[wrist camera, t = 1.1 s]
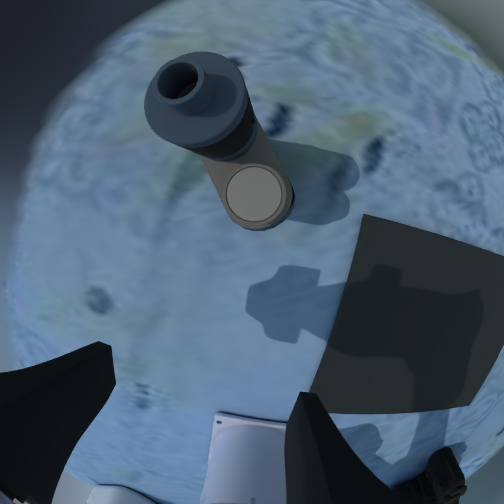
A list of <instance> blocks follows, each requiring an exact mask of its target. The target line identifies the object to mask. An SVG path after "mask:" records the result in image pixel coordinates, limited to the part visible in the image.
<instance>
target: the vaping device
mask: <svg viewBox="0 0 504 504" xmlns="http://www.w3.org/2000/svg"><path fill="white" fill-rule="evenodd" d="M248 97H249V95H248V91H247V88H246V85H245V82H244V79H243V76H242V74H241V72H240V70H239V69H238V68H237V66H236V65H235V64H234V63H233V62H231V61H230V60H229V59H227V58H225V57H224V56H222V55H219V54H216V53H211V52H193V53H188V54H185V55H182V56H180V57H177V58H175V59H173V60H171V61H169V62H167V63H166V64H164V65H163V66H162V67H161V68H160V69H159V70H158V72H157V73H156V75H155V76H154V78H153V79H152V81H151V82H150V84H149V87H148V89H147V91H146V96H145V102H144V109H145V116H146V119H147V122H148V123H149V125H150V127H151V129H152V130H153V131H154V132H155V133H156V134H157V135H158V136H160V137H161V138H162V139H164V140H166V141H168V142H171V143H173V144H176V145H178V146H180V147H183V148H185V149H188V150H190V151H192V152H195V153H197V154H199V156H200V158H201V160H202V162H203V164H204V166H205V168H206V170H207V172H208V174H209V176H210V178H211V180H212V182H213V184H214V186H215V189H216V191H217V193H218V195H219V197H220V199H221V201H222V203H223V205H224V207H225V209H226V211H227V213H228V215H229V216H230V218H231V219H232V220H233V221H234V222H235V223H237V224H238V225H240V226H241V227H243V228H244V229H248V230H252V231H265V230H268V229H271V228H274V227H276V226H277V225H279V224H281V223H282V222H284V220H285V219H286V218H287V217H288V216H289V215H290V213H291V211H292V209H293V207H294V202H295V194H294V190H293V187H292V185H291V184H290V182H289V180H288V178H287V176H286V174H285V173H284V170H283V168H282V166H281V164H280V162H279V160H278V158H277V156H276V154H275V152H274V150H273V148H272V147H271V145H270V143H269V141H268V139H267V137H266V135H265V133H264V131H263V129H262V127H261V125H260V124H259V122H258V120H257V118H256V116H255V114H254V111H253V108H252V104H251V101H250V98H248Z"/></svg>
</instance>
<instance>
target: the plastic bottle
mask: <svg viewBox="0 0 504 504" xmlns="http://www.w3.org/2000/svg"><path fill="white" fill-rule="evenodd" d="M86 504H156V503H154V502H153V501H151V500H149V499H148V498H146V497H144V496H143V495H141V494H139V493H137V492H135V491H133V490H131V489H128V488H125V487H121V486H106V485H96V486H94V487H93V489H92V492H91V493H90V496H89V498H88V501H87V503H86Z"/></svg>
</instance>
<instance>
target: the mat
mask: <svg viewBox="0 0 504 504" xmlns="http://www.w3.org/2000/svg"><path fill="white" fill-rule="evenodd" d="M503 345H504V257H503V256H501V255H498V254H495V253H493V252H490V251H487V250H484V249H481V248H478V247H475V246H472V245H469V244H466V243H463V242H460V241H457V240H454V239H451V238H448V237H445V236H441V235H438V234H435V233H432V232H428V231H425V230H421V229H418V228H415V227H411V226H407V225H404V224H400V223H397V222H393V221H389V220H385V219H382V218H378V217H374V216H370V215H366V214H364V215H363V219H362V223H361V228H360V232H359V237H358V241H357V245H356V249H355V253H354V257H353V261H352V265H351V269H350V272H349V276H348V280H347V283H346V287H345V290H344V293H343V297H342V300H341V304H340V307H339V310H338V313H337V316H336V319H335V323H334V326H333V329H332V332H331V335H330V337H329V340H328V343H327V346H326V349H325V352H324V354H323V357H322V360H321V363H320V365H319V368H318V371H317V373H316V376H315V378H314V381H313V383H312V386H311V388H310V391H309V393H316V394H317V395H318V397H319V398H320V400H321V402H322V404H323V405H324V407H325V409H326V411H327V412H328V413H337V414H397V413H413V412H425V411H434V410H442V409H450V408H456V407H463V406H468V405H470V403H471V402H472V400H473V399H474V397H475V396H476V394H477V392H478V391H479V389H480V388H481V386H482V384H483V383H484V381H485V379H486V378H487V376H488V374H489V372H490V370H491V369H492V367H493V365H494V363H495V361H496V359H497V357H498V355H499V353H500V351H501V349H502V347H503Z"/></svg>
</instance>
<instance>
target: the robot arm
mask: <svg viewBox="0 0 504 504" xmlns="http://www.w3.org/2000/svg"><path fill="white" fill-rule="evenodd" d="M115 385H116V380H115V373H114V365H113V357H112V348H111V346H110V345H107V344H105V343H102V342H100V341H98V342H95V343H92V344H90V345H87V346H85V347H82V348H80V349H77V350H75V351H73V352H70V353H68V354H65V355H63V356H60V357H58V358H55V359H52V360H49V361H46V362H44V363H41V364H38V365H35V366H31V367H28V368H24V369H20V370H15V371H10V372H3V373H0V504H15V503H14V502H13V500H14V498H16V499H17V500H18V501H20V502H21V503H24V502H25V501H26V502H27V503H28V504H51V503H52V499H53V496H54V492H55V490H56V487H57V484H58V481H59V479H60V476H61V474H62V472H63V469H64V467H65V465H66V463H67V461H68V459H69V457H70V455H71V453H72V451H73V449H74V447H75V445H76V444H77V442H78V441H79V439H80V438H81V436H82V435H83V433H84V432H85V431H86V429H87V428H88V427H89V425H90V424H91V423H92V421H93V420H94V419H95V417H96V416H97V415H98V413H99V412H100V410H101V409H102V408H103V406H104V405H105V404H106V402H107V400H108V398H109V397H110V395H111V393H112V391H113V389H114V387H115ZM208 464H209V467H208V471H207V475H206V478H205V482H204V486H203V490H202V494H201V498H200V501H199V504H411V503H410V502H408V501H407V500H405V499H404V498H402V497H401V496H399V495H398V494H397V493H395V492H394V491H393V490H391V489H390V488H389V487H388V486H387V485H385V484H384V483H383V482H382V481H381V480H379V479H378V478H377V477H376V476H375V475H374V474H373V473H372V472H371V471H370V470H369V469H368V468H367V467H366V466H365V464H364V463H363V462H362V461H361V460H360V459H359V457H358V456H357V455H356V454H355V452H354V451H353V450H352V449H351V447H350V446H349V445H348V443H347V442H346V440H345V439H344V438H343V436H342V435H341V433H340V432H339V430H338V429H337V427H336V425H335V424H334V422H333V421H332V419H331V417H330V416H329V414H328V412H327V411H326V409H325V407H324V405H323V404H322V402H321V400H320V398H319V397H318V395H317V394H316V393H308V392H300V393H299V396H298V398H297V401H296V403H295V406H294V408H293V411H292V413H291V415H290V418H289V420H288V422H287V423H278V422H271V421H264V420H257V419H251V418H245V417H240V416H234V415H229V414H224V413H216V414H215V417H214V424H213V430H212V437H211V444H210V451H209V457H208Z"/></svg>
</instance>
